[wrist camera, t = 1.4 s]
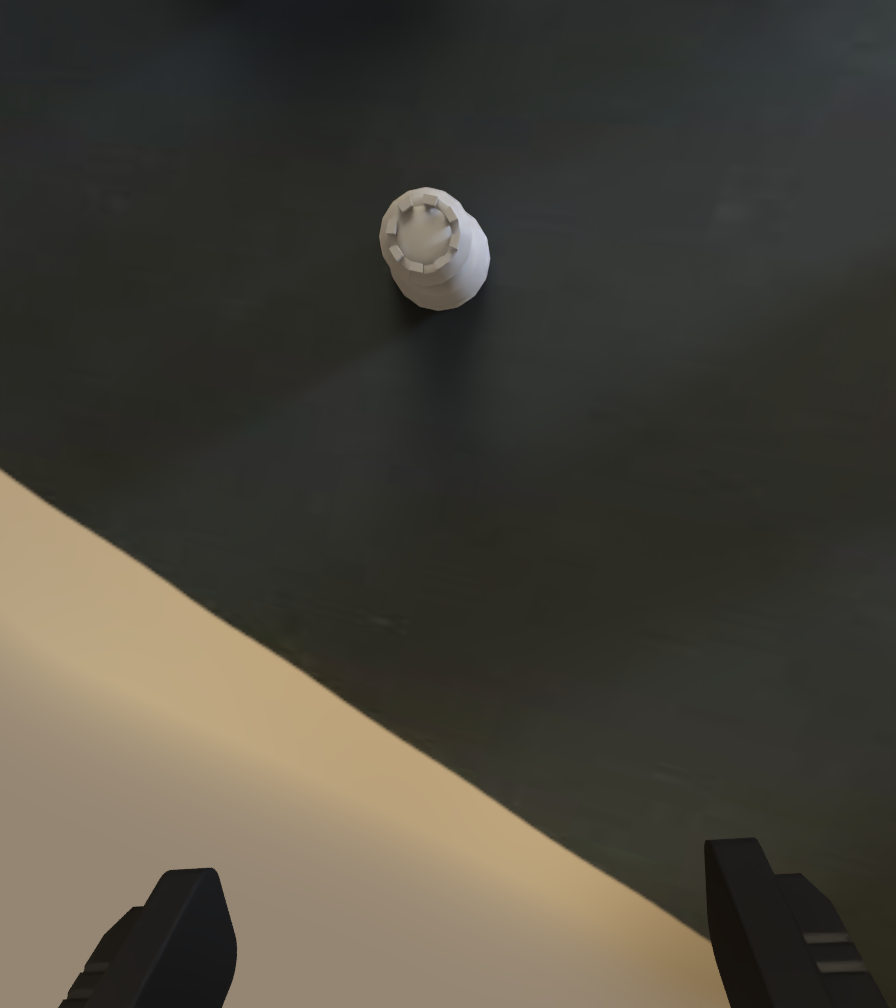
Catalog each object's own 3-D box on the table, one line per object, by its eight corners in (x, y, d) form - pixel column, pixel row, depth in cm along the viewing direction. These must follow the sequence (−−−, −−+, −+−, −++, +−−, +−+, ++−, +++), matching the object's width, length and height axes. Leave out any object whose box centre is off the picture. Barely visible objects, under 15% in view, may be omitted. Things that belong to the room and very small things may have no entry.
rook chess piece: (465, 327, 32) (456, 323, 24) (376, 287, 32) (338, 270, 24) (506, 231, 31) (511, 195, 23) (414, 189, 31) (387, 138, 23)
